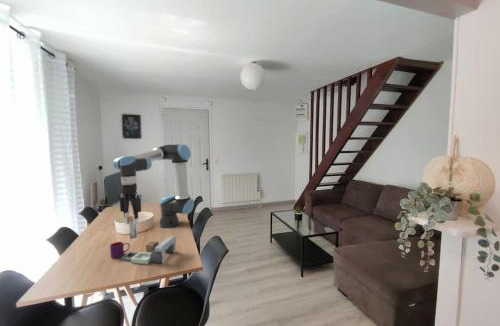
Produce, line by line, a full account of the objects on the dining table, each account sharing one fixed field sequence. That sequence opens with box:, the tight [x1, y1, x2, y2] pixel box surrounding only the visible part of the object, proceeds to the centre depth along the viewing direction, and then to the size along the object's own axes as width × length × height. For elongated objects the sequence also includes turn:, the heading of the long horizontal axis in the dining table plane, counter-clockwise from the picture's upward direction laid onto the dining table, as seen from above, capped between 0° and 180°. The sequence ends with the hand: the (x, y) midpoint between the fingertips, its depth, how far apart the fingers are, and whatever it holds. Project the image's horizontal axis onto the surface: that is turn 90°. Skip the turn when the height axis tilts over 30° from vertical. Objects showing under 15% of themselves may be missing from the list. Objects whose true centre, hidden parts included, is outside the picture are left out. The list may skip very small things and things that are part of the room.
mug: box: [109, 241, 131, 259], centre depth 137 cm, size 7×10×7 cm
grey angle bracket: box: [150, 234, 177, 264], centre depth 133 cm, size 14×8×10 cm, turn 169°
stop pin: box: [128, 215, 138, 240], centre depth 131 cm, size 4×4×12 cm
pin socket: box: [120, 251, 139, 262], centre depth 133 cm, size 7×7×2 cm
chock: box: [145, 240, 160, 253], centre depth 141 cm, size 6×4×5 cm
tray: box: [130, 251, 152, 265], centre depth 130 cm, size 8×10×2 cm
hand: (131, 223), depth 130 cm, fingers closed on stop pin, 4 cm apart
